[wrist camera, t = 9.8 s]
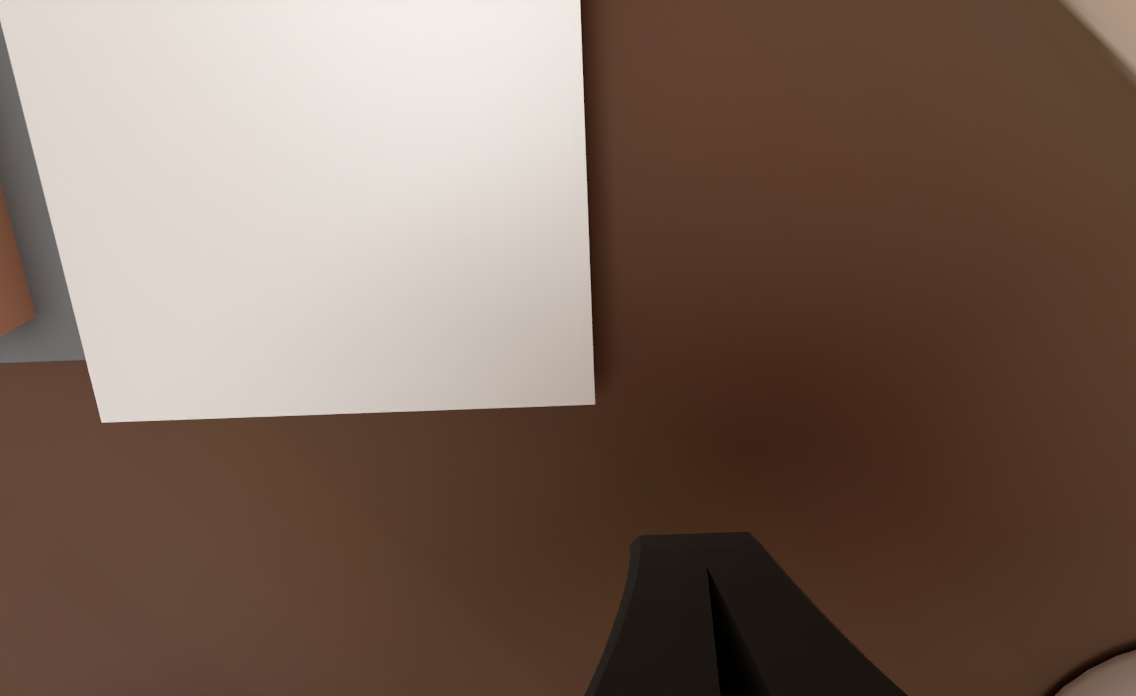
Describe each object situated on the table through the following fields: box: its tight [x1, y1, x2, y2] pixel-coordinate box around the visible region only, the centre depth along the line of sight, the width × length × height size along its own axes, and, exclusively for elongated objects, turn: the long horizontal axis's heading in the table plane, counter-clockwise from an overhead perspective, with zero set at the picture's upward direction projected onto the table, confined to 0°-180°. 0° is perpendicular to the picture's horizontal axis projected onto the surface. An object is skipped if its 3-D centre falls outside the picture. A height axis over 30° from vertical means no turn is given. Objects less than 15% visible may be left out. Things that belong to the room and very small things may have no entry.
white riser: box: [0, 0, 595, 423], centre depth 17 cm, size 10×10×2 cm
